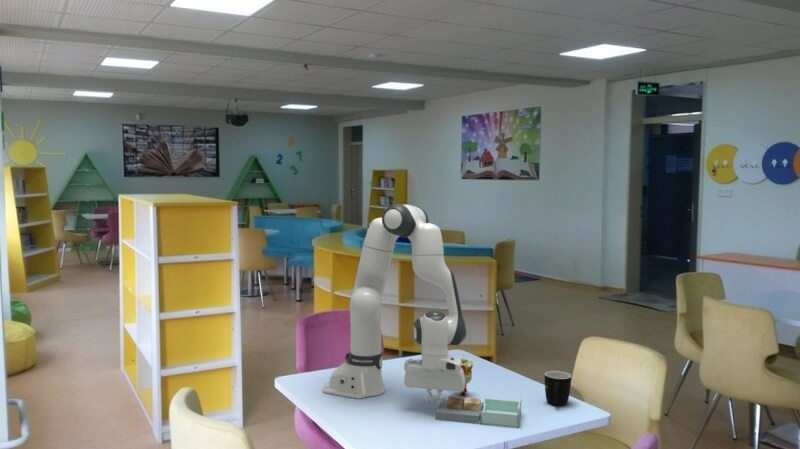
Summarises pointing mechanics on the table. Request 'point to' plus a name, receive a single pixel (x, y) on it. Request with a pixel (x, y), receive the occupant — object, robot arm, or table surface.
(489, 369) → the table surface
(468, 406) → the tile
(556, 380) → the mug
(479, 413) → the board
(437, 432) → the table surface
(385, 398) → the table surface
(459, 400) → the tile
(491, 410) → the bin
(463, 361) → the toy
